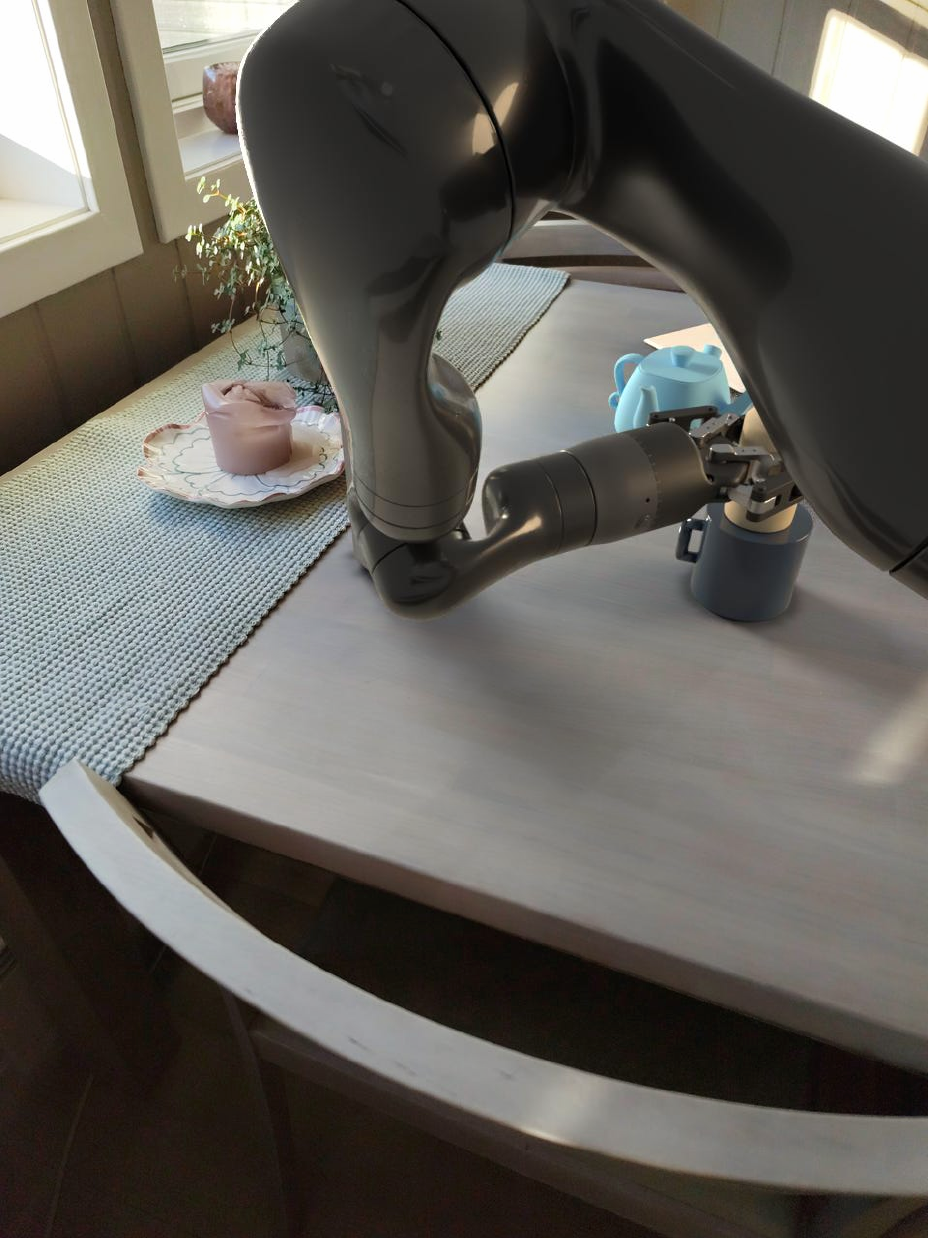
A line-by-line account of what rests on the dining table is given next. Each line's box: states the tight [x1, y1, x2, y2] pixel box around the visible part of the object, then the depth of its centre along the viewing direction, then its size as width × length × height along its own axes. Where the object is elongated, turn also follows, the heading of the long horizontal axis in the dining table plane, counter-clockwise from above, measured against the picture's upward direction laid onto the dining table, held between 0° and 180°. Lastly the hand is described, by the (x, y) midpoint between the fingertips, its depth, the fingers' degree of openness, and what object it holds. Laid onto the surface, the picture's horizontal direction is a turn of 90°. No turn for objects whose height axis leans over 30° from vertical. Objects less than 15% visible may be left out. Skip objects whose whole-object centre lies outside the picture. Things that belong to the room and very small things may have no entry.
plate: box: [643, 322, 746, 395], centre depth 114 cm, size 19×19×2 cm
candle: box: [725, 406, 797, 532], centre depth 69 cm, size 6×6×10 cm
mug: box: [674, 502, 814, 623], centre depth 75 cm, size 10×9×8 cm
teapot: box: [608, 345, 753, 433], centre depth 94 cm, size 15×14×11 cm
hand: (800, 437), depth 68 cm, fingers closed on candle, 5 cm apart
